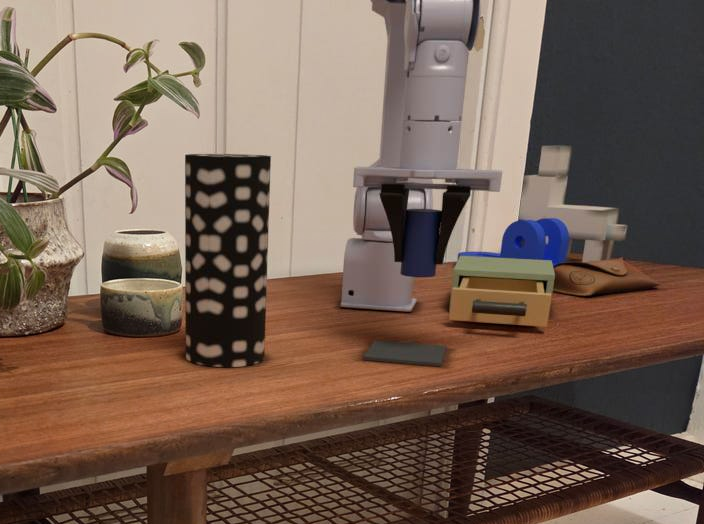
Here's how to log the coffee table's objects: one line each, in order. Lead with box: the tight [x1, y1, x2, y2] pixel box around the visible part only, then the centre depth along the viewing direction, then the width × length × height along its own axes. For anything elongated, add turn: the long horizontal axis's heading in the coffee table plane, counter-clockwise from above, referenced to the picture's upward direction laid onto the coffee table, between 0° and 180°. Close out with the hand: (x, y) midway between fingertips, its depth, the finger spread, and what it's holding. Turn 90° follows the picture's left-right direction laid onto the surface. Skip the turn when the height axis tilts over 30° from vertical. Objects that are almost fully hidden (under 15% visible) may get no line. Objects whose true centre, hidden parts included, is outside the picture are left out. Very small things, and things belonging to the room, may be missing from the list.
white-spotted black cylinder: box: [184, 153, 272, 368], centre depth 89 cm, size 8×8×20 cm
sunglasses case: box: [553, 256, 662, 297], centre depth 135 cm, size 18×7×7 cm
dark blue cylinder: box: [400, 208, 442, 278], centre depth 91 cm, size 4×4×6 cm
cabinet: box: [448, 256, 555, 319], centre depth 121 cm, size 14×13×6 cm
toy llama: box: [518, 145, 628, 262], centre depth 156 cm, size 8×18×20 cm, turn 49°
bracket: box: [456, 218, 569, 266], centre depth 150 cm, size 18×8×9 cm, turn 36°
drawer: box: [448, 276, 552, 328], centre depth 109 cm, size 17×11×4 cm
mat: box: [362, 339, 448, 368], centre depth 95 cm, size 8×8×1 cm
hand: (418, 262), depth 92 cm, fingers closed on dark blue cylinder, 3 cm apart
